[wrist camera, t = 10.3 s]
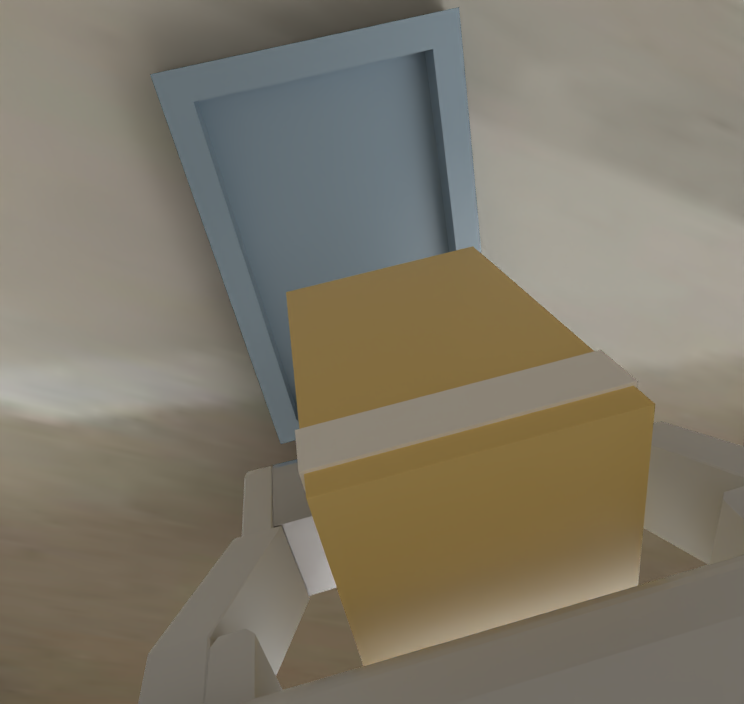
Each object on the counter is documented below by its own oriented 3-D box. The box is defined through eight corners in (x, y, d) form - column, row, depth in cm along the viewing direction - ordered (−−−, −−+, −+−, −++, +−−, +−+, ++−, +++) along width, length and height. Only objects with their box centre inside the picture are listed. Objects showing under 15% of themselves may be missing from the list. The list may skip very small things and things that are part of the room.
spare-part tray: (445, 11, 18) (458, 7, 17) (482, 372, 26) (493, 388, 25) (158, 73, 18) (150, 74, 17) (280, 424, 25) (280, 444, 24)
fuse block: (474, 243, 11) (659, 399, 6) (495, 462, 14) (630, 692, 9) (282, 290, 11) (299, 496, 6) (345, 503, 14) (394, 765, 9)
